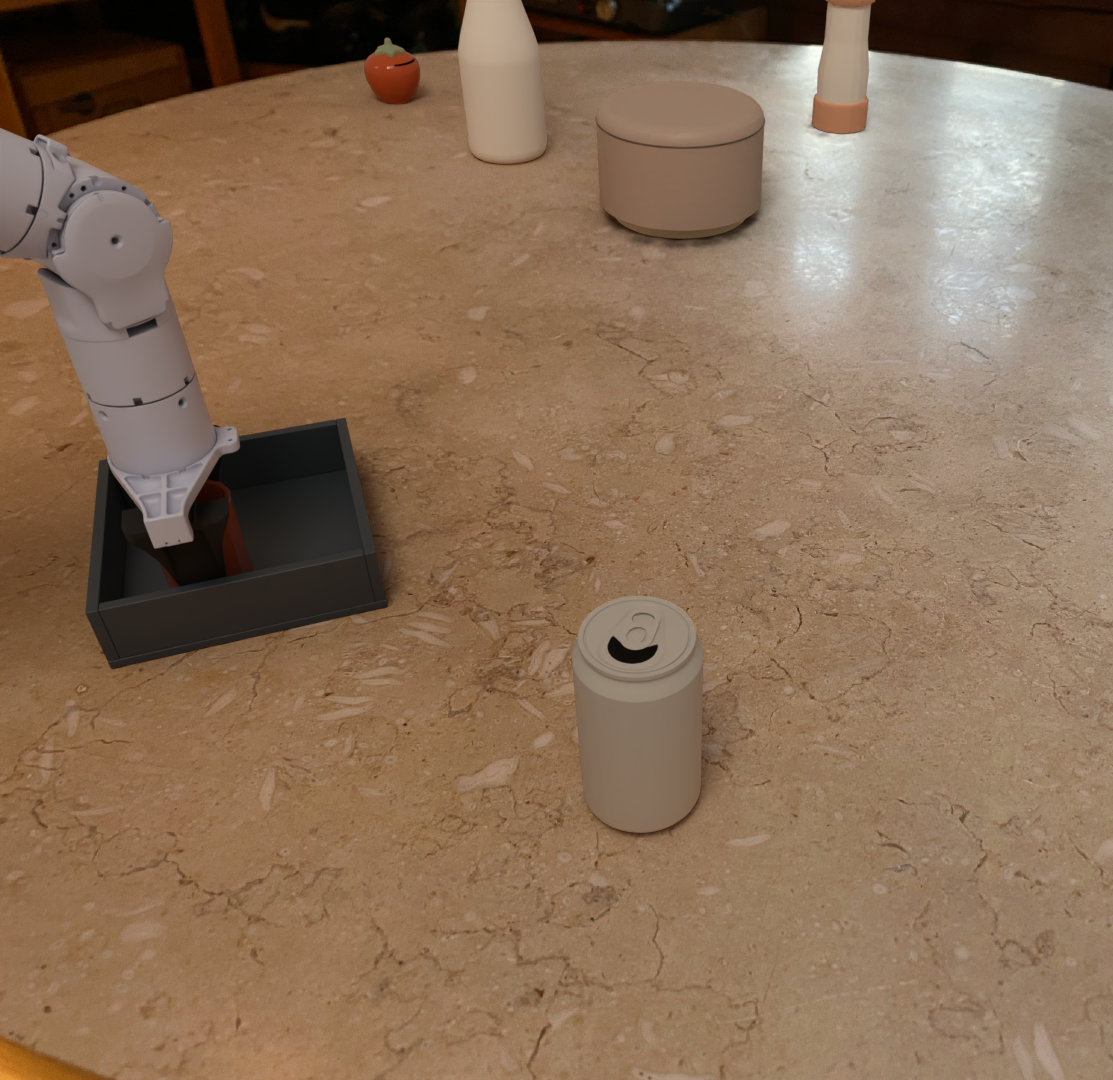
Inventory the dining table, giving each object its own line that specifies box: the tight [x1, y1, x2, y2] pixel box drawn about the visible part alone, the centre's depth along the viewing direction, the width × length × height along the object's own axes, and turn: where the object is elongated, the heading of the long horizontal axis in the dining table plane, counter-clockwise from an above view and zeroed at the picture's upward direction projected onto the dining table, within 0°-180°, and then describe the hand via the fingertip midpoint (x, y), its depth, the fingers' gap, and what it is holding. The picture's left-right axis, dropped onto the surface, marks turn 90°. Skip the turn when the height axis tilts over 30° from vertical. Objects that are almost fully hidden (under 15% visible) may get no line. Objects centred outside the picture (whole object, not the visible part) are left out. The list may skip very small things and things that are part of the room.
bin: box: [84, 417, 389, 669], centre depth 73 cm, size 16×16×5 cm
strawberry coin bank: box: [363, 37, 421, 105], centre depth 148 cm, size 7×7×8 cm
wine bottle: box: [457, 0, 548, 165], centre depth 126 cm, size 10×10×30 cm
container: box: [594, 80, 766, 240], centre depth 118 cm, size 18×18×12 cm
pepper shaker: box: [811, 0, 876, 134], centre depth 140 cm, size 7×7×19 cm
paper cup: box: [160, 479, 255, 589], centre depth 68 cm, size 5×5×7 cm
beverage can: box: [571, 595, 705, 834], centre depth 56 cm, size 6×6×12 cm
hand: (207, 566), depth 69 cm, fingers closed on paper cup, 5 cm apart
